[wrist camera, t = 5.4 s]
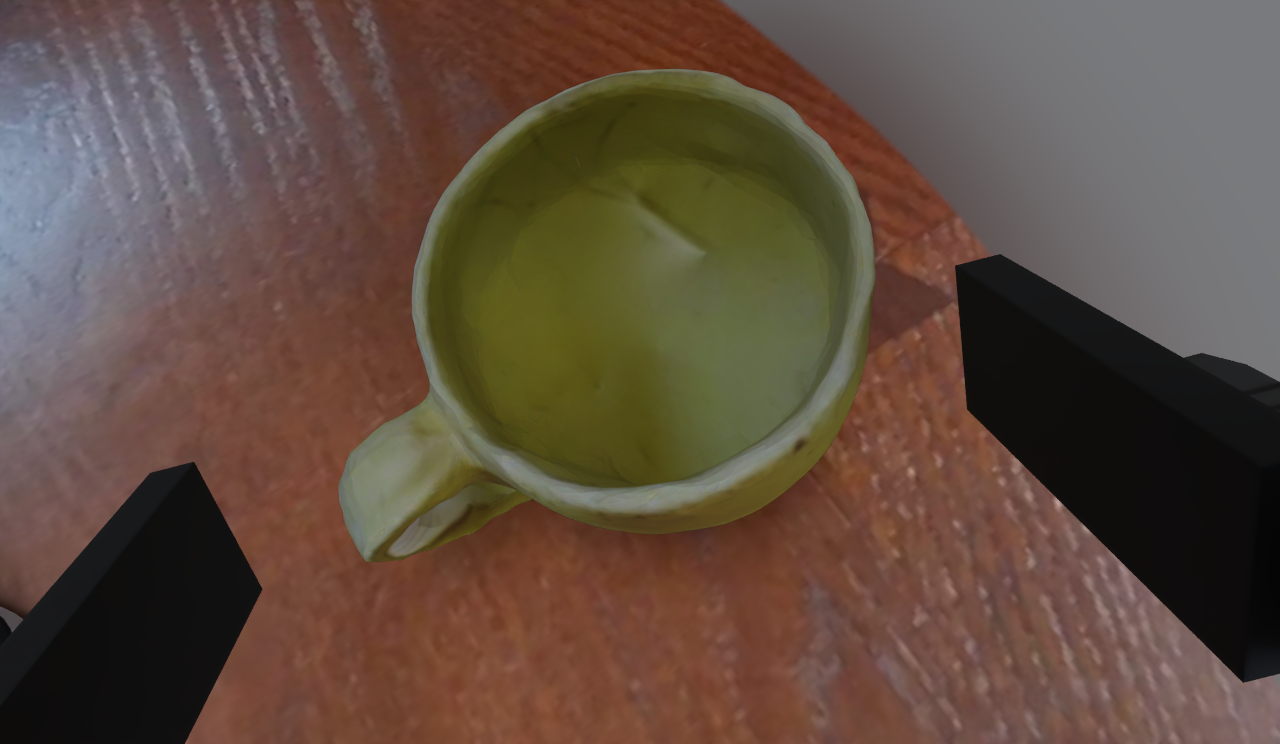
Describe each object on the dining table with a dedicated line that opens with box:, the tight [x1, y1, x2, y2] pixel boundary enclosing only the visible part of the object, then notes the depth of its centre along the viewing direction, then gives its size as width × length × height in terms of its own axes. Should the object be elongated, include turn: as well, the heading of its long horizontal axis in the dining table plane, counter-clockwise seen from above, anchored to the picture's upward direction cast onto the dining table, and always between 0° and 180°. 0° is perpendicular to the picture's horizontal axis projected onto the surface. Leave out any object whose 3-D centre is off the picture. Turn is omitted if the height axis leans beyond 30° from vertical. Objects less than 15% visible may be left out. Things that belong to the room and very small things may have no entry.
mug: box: [339, 69, 876, 562], centre depth 20 cm, size 12×10×10 cm
